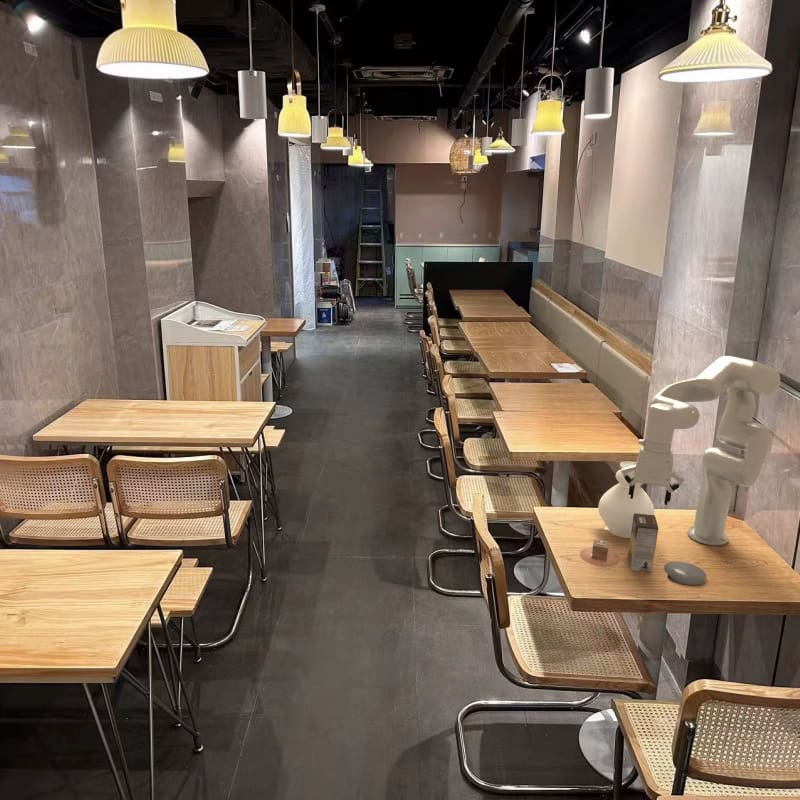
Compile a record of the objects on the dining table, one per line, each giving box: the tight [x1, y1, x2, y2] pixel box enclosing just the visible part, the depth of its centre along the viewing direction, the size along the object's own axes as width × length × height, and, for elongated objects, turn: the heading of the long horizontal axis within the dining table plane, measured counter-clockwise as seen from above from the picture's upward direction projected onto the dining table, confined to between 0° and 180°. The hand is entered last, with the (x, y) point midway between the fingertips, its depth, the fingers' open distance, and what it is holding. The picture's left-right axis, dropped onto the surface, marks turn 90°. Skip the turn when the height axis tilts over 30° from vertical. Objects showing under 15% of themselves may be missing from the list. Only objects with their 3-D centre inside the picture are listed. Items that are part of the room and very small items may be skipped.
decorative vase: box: [597, 461, 655, 539], centre depth 231 cm, size 18×18×25 cm
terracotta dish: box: [579, 546, 620, 567], centre depth 217 cm, size 12×12×1 cm
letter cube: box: [592, 538, 610, 561], centre depth 216 cm, size 4×4×5 cm
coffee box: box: [627, 513, 659, 573], centre depth 211 cm, size 9×6×16 cm
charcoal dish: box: [663, 561, 707, 587], centre depth 210 cm, size 12×12×1 cm
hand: (648, 500), depth 207 cm, fingers open, 9 cm apart
